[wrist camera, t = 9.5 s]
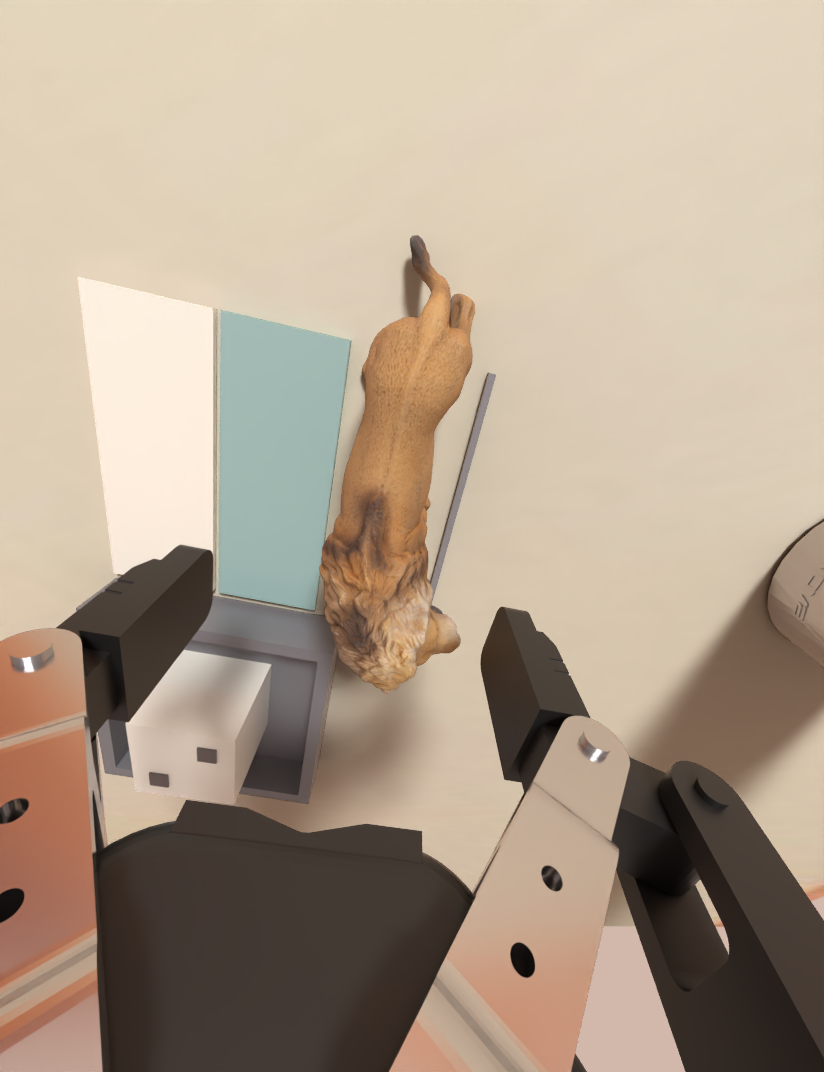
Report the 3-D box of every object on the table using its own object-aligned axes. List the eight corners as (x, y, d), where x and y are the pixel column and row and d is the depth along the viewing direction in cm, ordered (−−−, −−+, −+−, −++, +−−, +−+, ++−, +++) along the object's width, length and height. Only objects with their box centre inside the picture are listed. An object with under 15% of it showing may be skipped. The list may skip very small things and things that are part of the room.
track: (494, 374, 17) (495, 374, 17) (423, 627, 23) (423, 630, 22) (83, 278, 16) (77, 276, 15) (117, 570, 21) (113, 573, 21)
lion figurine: (447, 578, 21) (463, 719, 13) (347, 572, 21) (301, 710, 13) (482, 243, 15) (554, 119, 7) (341, 235, 15) (247, 100, 7)
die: (271, 664, 23) (234, 742, 19) (267, 724, 25) (233, 808, 21) (182, 649, 23) (121, 725, 18) (185, 712, 25) (132, 794, 20)
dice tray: (342, 619, 22) (333, 654, 20) (318, 762, 28) (308, 804, 25) (116, 577, 22) (76, 608, 19) (135, 733, 27) (105, 773, 24)
